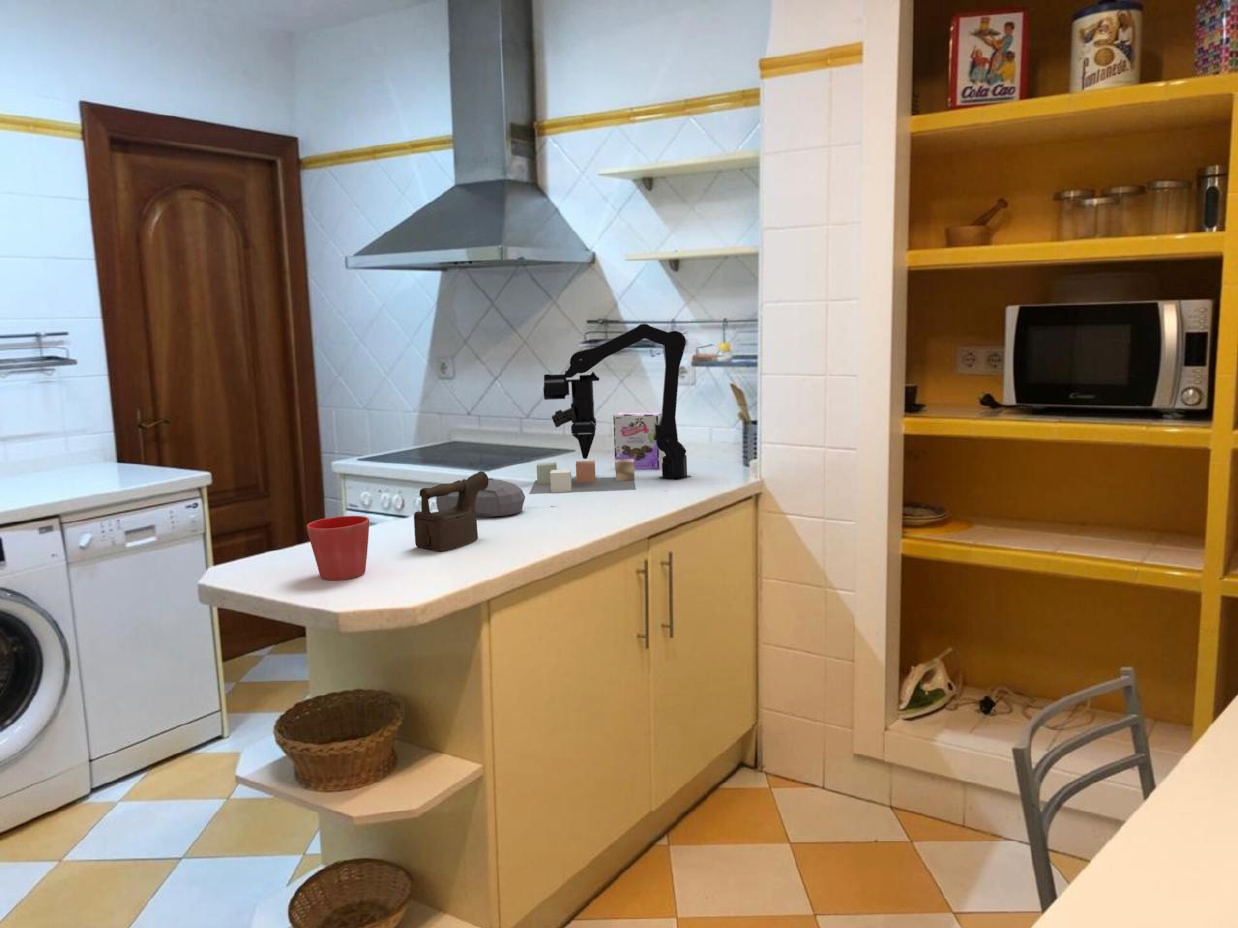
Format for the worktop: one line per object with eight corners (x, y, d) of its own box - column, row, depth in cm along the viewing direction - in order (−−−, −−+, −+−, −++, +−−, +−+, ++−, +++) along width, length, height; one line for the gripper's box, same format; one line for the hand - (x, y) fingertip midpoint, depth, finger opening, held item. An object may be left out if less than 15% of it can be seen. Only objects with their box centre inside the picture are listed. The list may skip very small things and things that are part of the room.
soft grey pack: (429, 518, 219) (508, 521, 212) (427, 482, 218) (505, 484, 211) (462, 505, 233) (537, 508, 226) (460, 472, 232) (535, 473, 225)
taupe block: (571, 488, 247) (570, 469, 247) (570, 491, 243) (569, 472, 242) (552, 489, 247) (551, 470, 247) (551, 492, 242) (550, 473, 242)
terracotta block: (595, 478, 261) (594, 460, 261) (595, 481, 256) (594, 463, 256) (577, 479, 261) (576, 461, 261) (576, 482, 256) (575, 464, 256)
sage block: (557, 480, 261) (556, 462, 261) (556, 483, 256) (555, 464, 256) (538, 481, 261) (537, 462, 261) (537, 484, 256) (536, 465, 256)
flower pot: (297, 581, 167) (292, 526, 166) (337, 565, 177) (332, 514, 176) (348, 584, 163) (343, 529, 162) (385, 568, 173) (381, 516, 172)
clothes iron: (500, 537, 196) (496, 472, 194) (437, 553, 184) (433, 484, 182) (475, 533, 201) (471, 469, 199) (412, 548, 189) (408, 481, 187)
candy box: (614, 470, 278) (612, 414, 276) (621, 467, 283) (619, 412, 281) (659, 471, 273) (657, 414, 270) (666, 468, 278) (664, 412, 276)
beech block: (634, 477, 261) (633, 459, 261) (634, 480, 256) (633, 461, 256) (615, 478, 261) (615, 459, 261) (615, 480, 256) (615, 462, 256)
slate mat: (633, 478, 263) (633, 476, 263) (635, 491, 242) (635, 489, 242) (535, 482, 263) (535, 480, 263) (529, 495, 242) (528, 493, 242)
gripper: (554, 397, 265) (557, 452, 267) (550, 402, 246) (553, 462, 249) (594, 395, 265) (597, 451, 267) (593, 400, 246) (596, 460, 249)
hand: (585, 456), depth 258 cm, fingers open, 9 cm apart
